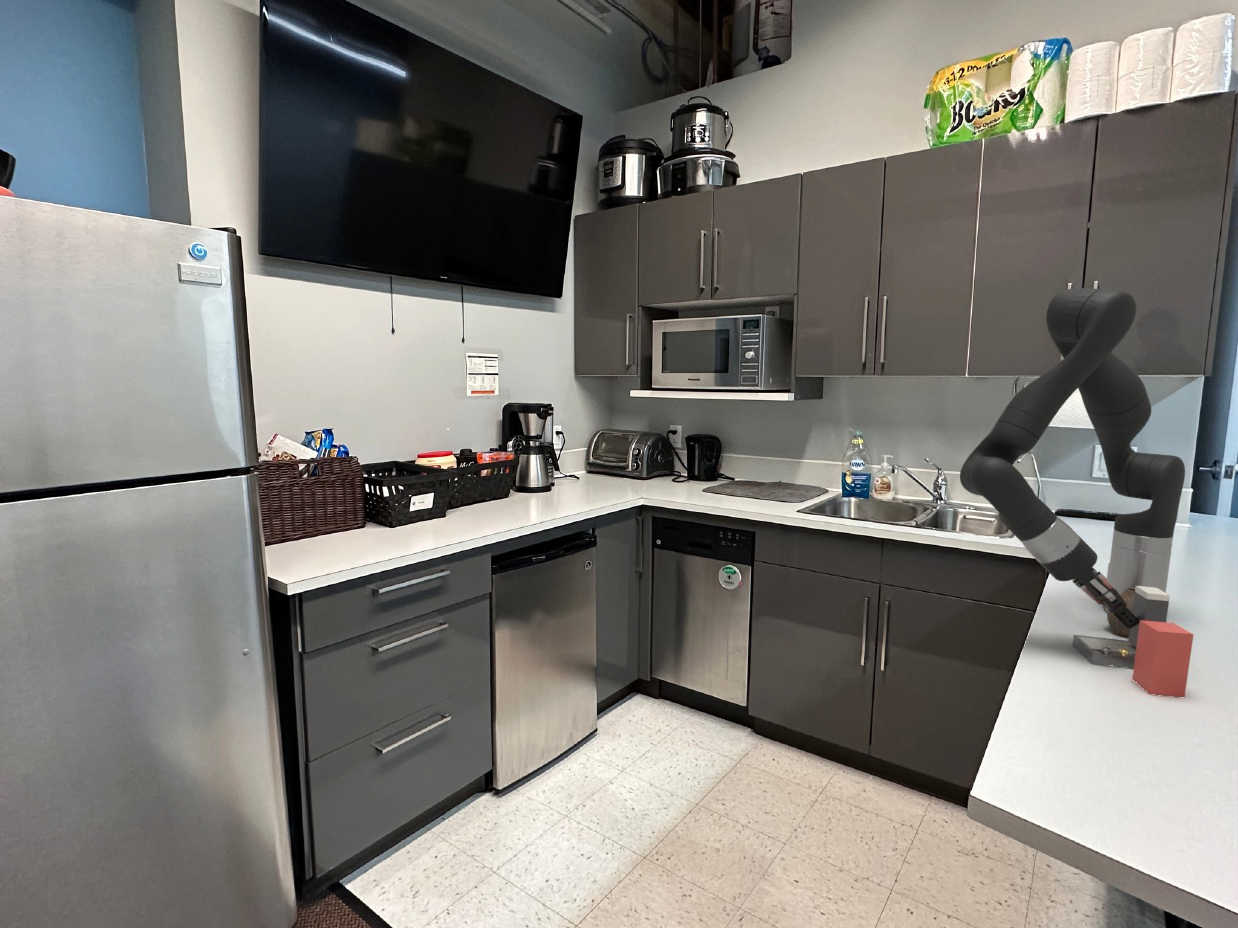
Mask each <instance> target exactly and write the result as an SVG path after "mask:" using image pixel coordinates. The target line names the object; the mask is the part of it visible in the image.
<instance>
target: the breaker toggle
mask: <svg viewBox="0 0 1238 928" xmlns="http://www.w3.org/2000/svg"><path fill="white" fill-rule="evenodd" d="M1170 597H1171V595H1170V594H1168V593H1167V592H1166V593H1165V592H1163V591H1161V590H1160V589H1158V588H1154V587H1143V586H1135V594H1134V602H1133V610H1132V614H1133V615H1134V616H1135V617H1136V618H1137V619H1138V620H1139V624H1140V620H1142V621H1154V622H1167V618H1168V611H1169V606H1170V605H1169V604H1170ZM1139 624H1137V625H1136V626H1134V627H1132V628H1130V634H1129V637H1128V640H1127V641H1128V642H1129V643H1131V644H1132V645H1133V646H1134V647H1137V639H1138V632H1139Z"/></svg>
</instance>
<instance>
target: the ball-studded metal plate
mask: <svg viewBox="0 0 1238 928" xmlns="http://www.w3.org/2000/svg"><path fill="white" fill-rule="evenodd" d="M1072 639H1073V640H1072V646H1073V647H1074V648H1075V649H1076V650H1077V651H1078V652H1079V653H1080V654H1081V655H1082V656H1083V657H1084V658H1085V659H1086V658H1087V659H1088V660H1087V659H1086V660H1087V661H1088V662H1089V661H1090V662H1091V665H1096V664H1099V665H1098V666H1104V665H1113V666H1116V667H1115V668H1120V667H1128V668H1134V663H1135V655H1136V647H1134V646H1133V645H1132V644H1131V643H1129V642H1128V641H1129V640H1124V639H1116V638H1107V637H1100V636H1090V635H1079V634H1073V638H1072ZM1090 662H1089V663H1090ZM1128 668H1127V669H1128Z"/></svg>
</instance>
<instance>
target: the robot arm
mask: <svg viewBox="0 0 1238 928" xmlns="http://www.w3.org/2000/svg"><path fill="white" fill-rule="evenodd" d="M1136 312H1137V303H1136V300H1135V298H1134V296H1132V294H1130V293H1129V292H1126V291H1124V290H1117V289H1103V288H1087V287H1086V288H1085V287H1077V288H1076V287H1074V288H1067V289H1063V290H1062V291H1060V292H1058V293H1057V294H1055V295H1054V296H1053V297H1052V299H1051V300H1050V302H1049V304H1048V307H1047V309H1046V318H1045V319H1046V320H1045V321H1046V326H1047V327H1046V328H1047V330H1048V333H1049V335H1050V338H1051V339H1052V342H1053V343H1054V345H1055V347H1056V348H1057V349H1058V352H1059V354H1061V356H1062V360H1061V361H1060V362H1058V363H1057V364H1055V366H1053V367H1052V368H1050V369H1049V370H1048V371H1046V372H1045V373H1043V374H1041V375H1040V376H1039V377H1037V378H1035V379H1034V380H1033V381H1030V383H1028V384H1027V385H1025V386H1024V387H1022V388H1021V389H1020V390H1019V391H1018V392H1016V394H1014V396H1013V397H1012V398H1011V400H1010V401H1009V402H1008V404H1007V405H1006V407H1005V408H1004V410H1003V411H1002V413H1001V414H1000V416H999V417H998V419H997V421H996V422H995V424H994V426H993V427H992V429H991V430H990V432H989V433H988V434H987V435H986V436H985V438H983V439H982V441H981V442H980V443H979V444H978V445H977V446H976V447H975V448H974V449H973V451H972V452H971V453H970V454H969V455H968V457H967V458H966V460H965V461H964V462H963V464H962V467H961V469H960V472H959V481H960V484H961V486H962V487H963V489H964V490H965V491H967V492H969V493H970V494H973V495H975V496H979V497H983V498H984V499H985V500H986V501H988V502H989V504H991V506H992V507H993V508H994V509H995V510H996V511H997V512H998V517H999V519H1000V521H1001V522H1002V523H1003V525H1004V526H1005V527H1006V528H1007V529H1008V530H1009V531H1010V532H1011V533H1012V534H1013V535H1014V536H1015V537H1016V538H1017V539H1018V541H1019V542H1020V543H1022V545H1023V546H1024V548H1025V549H1026V551H1027V552H1028V553H1029V554H1030V555H1031V556H1032V557H1033V558H1034V559H1035V560H1036V561H1037V562H1038V563H1039V564H1040V565H1041V566H1042V567H1043V568H1044V569H1045V570H1046V571H1047V572H1048V574H1050V575H1051V576H1052V577H1053V578H1054V579H1055V580H1057V581H1059V582H1069V581H1071V582H1072V583H1073V584H1074V585H1075V586H1076V587H1077V588H1079V589H1080V590H1082V592H1083V593H1085V594H1086V596H1088V597H1089V598H1091V600H1093V601H1094V602H1096V603H1097V604H1098V605H1100V606H1102V608H1104V611H1105V612H1107V611H1109V612H1111V613H1112V614H1113V615H1114V616H1115V617H1116V618H1117V619H1118V620H1119V621H1120V622H1121V623H1122V624H1123V625H1124V626H1125V627H1126V628H1128V629H1130V628H1132V627H1134V626H1136V625H1137V624H1139V620H1138V619H1137V618H1136V617H1135V616H1134V615H1133V614H1132V613H1131V612H1130V611H1129V610H1128V609H1127V608H1126V606H1127V604H1126V602H1125V601H1124V600H1123V599H1122V597H1121V596H1120V594H1121V593H1122V592H1123V591H1124V590H1125V589H1126V588H1135V586H1143V587H1154V588H1158V589H1160V590H1161V591H1163V592H1165V593H1167V588H1168V587H1167V586H1168V578H1169V572H1170V564H1171V557H1172V547H1173V540H1174V533H1175V529H1176V528H1175V527H1176V524H1177V520H1178V513H1179V508H1180V507H1179V506H1180V504H1181V503H1180V502H1181V497H1182V493H1183V487H1184V483H1185V477H1186V468H1185V463H1184V461H1183V460H1182V458H1180V457H1179V456H1176V455H1171V454H1161V453H1147V452H1139V451H1135V450H1133V448H1132V446H1131V443H1132V442H1133V441H1134V439H1135V438H1136V437H1137V435H1139V433H1140V432H1141V431H1142V430H1143V429H1144V428H1145V427H1146V425H1147V423H1148V422H1149V420H1150V417H1151V415H1152V404H1151V401H1150V398H1149V395H1148V393H1147V389H1146V386H1145V384H1144V382H1143V381H1142V379H1141V377H1140V376H1139V375H1138V374H1137V373H1136V372H1135V371H1134V370H1133V369H1132V368H1131V367H1130V366H1129V365H1128V364H1127V363H1125V362H1124V361H1123V360H1122V359H1121V358H1119V357H1118V356H1117V355H1115V354H1114V353H1113V350H1114V349H1116V347H1117V346H1118V345H1119V344H1120V343H1121V342H1122V340H1123V339H1124V338H1125V336H1126V335H1127V334H1128V332H1129V331H1130V329H1131V327H1132V325H1133V323H1134V322H1135V321H1134V320H1135V319H1136V315H1137V313H1136ZM1077 389H1078V392H1079V394H1080V396H1081V399H1082V402H1083V405H1084V408H1085V411H1086V413H1087V417H1088V418H1089V420H1090V423H1091V424H1092V426H1093V429H1094V431H1095V435H1096V437H1097V439H1098V442H1099V445H1100V447H1101V451H1102V456H1103V460H1104V463H1105V468H1106V472H1107V473H1106V474H1107V476H1108V480H1109V484H1110V485H1111V488H1112V489H1113V491H1114V492H1115V493H1116V494H1118V495H1120V496H1122V497H1126V498H1133V499H1140V500H1145V501H1146V500H1149V501H1151V504H1150V507H1149V508H1148V509H1146V510H1142V511H1138V512H1133V513H1125V514H1124V513H1123V514H1120V515H1117V516H1116V517H1115V520H1114V525H1113V534H1112V541H1111V551H1110V559H1109V563H1108V565H1107V572H1106V573H1107V574H1106V576H1104V574H1103V573H1102V572H1101V571H1097V570H1096V569H1095V568H1094V567H1095V565H1096V564H1097V561H1098V554H1097V553H1096V551H1094V550H1093V548H1091V546H1089V545H1088V543H1086V541H1085V540H1084V539H1083V538H1082V537H1081V536H1080V535H1079V534H1078V533H1077V532H1076V531H1074V529H1073V528H1072V527H1070V525H1069V524H1067V522H1065V521H1064V520H1062V519H1061V518H1060V517H1059V516H1058V515H1056V513H1055V512H1054V511H1053V510H1051V508H1050V507H1048V505H1047V504H1046V503H1045V502H1043V501H1042V499H1040V498H1039V497H1038V496H1037V495H1036V493H1035V491H1034V490H1033V488H1032V487H1031V486H1030V484H1029V483H1028V481H1027V480H1026V479H1025V477H1024V476H1023V474H1022V473H1021V472H1020V471H1019V470H1018V469H1017V468H1016V467H1015V466H1014V464H1015V463H1016V461H1017V460H1018V459H1019V458H1020V457H1021V456H1023V455H1025V454H1027V453H1029V452H1030V451H1031V450H1032V449H1034V448H1035V446H1036V445H1037V443H1038V442H1039V440H1040V439H1041V438H1042V436H1043V435H1044V433H1045V432H1046V430H1047V428H1048V427H1049V426H1050V424H1051V422H1052V421H1053V419H1054V418H1055V416H1056V415H1057V414H1058V412H1059V410H1061V408H1062V407H1063V406H1064V404H1066V402H1067V401H1068V399H1070V397H1071V396H1072V395H1073V394H1074V393H1075V392H1076V391H1077Z"/></svg>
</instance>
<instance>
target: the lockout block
mask: <svg viewBox="0 0 1238 928" xmlns="http://www.w3.org/2000/svg"><path fill="white" fill-rule="evenodd" d="M1193 640H1194V633H1192V632H1190V631H1188V630H1186V629H1185V628H1183V627H1182V626H1179V625H1178V624H1176V623H1174V622H1167V621H1166V622H1154V621H1142V620H1140V624H1139V632H1138V639H1137V647H1136V655H1135V663H1134V669H1132V670H1133V672H1132V679H1133V680H1134V681H1135V682H1137V684H1139V685H1140V686H1141V687H1142V688H1144V690H1143V691H1145V690H1146V691H1147V692H1148V693H1149V695H1150V694H1155V695H1154V696H1158V695H1161V696H1162V697H1168V696H1174V697H1173V698H1178V697H1185V696H1186V690H1187V684H1188V676H1189V669H1190V664H1191V663H1190V661H1191V656H1192V655H1191V653H1192V650H1193V649H1192V648H1193ZM1132 679H1131V680H1132ZM1137 684H1136V685H1137ZM1141 687H1140V688H1141ZM1142 688H1141V689H1142ZM1146 691H1145V692H1146ZM1147 692H1146V693H1147ZM1148 693H1147V694H1148ZM1161 696H1160V697H1161Z"/></svg>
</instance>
